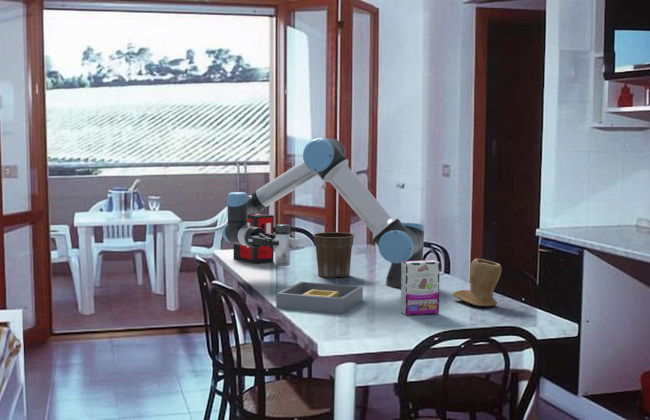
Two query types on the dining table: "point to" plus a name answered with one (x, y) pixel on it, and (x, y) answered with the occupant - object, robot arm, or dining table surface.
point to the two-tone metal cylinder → (283, 253)
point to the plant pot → (333, 253)
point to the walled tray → (319, 297)
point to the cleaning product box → (263, 252)
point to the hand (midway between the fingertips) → (292, 243)
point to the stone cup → (481, 283)
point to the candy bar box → (420, 287)
